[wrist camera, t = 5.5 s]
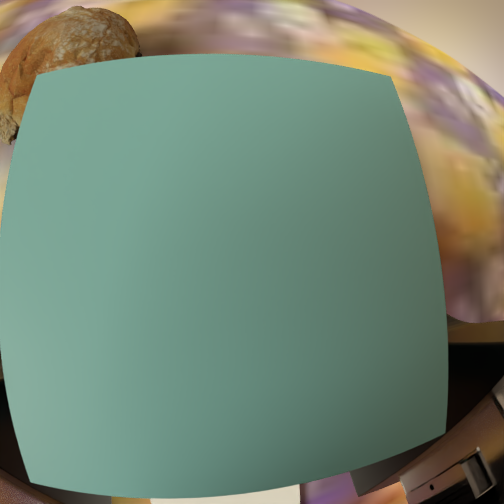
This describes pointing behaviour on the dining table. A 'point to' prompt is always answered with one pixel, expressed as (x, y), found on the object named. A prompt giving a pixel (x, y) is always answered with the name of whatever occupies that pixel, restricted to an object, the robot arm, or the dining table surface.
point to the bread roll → (60, 55)
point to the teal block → (217, 277)
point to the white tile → (243, 498)
